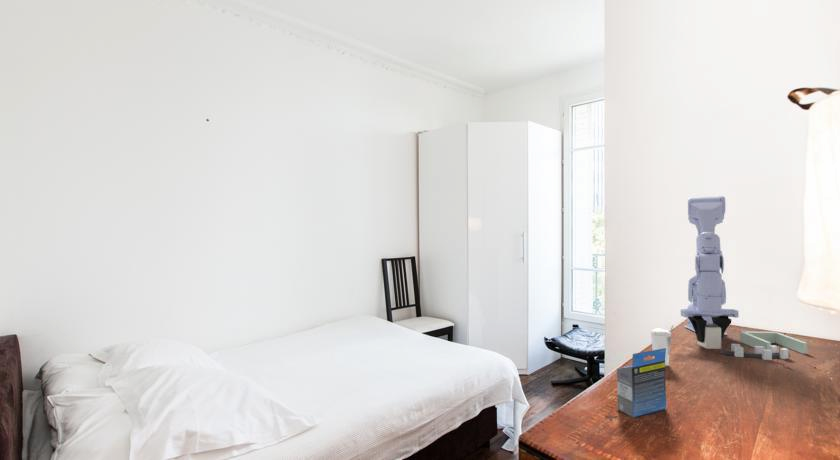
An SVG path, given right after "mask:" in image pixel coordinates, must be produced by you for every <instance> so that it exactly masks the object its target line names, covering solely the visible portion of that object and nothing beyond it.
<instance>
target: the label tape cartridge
mask: <svg viewBox="0 0 840 460" xmlns="http://www.w3.org/2000/svg"><path fill="white" fill-rule="evenodd" d="M665 355H666V348H663V349H658V350H652V349H651V350H647V351H642V352H635V353H632V361H631V362H632V365H629V366H624V367H619V368H617V369H616V374H617V375H616V379H617V381H616V383H617V395H616V398H617V410H618V411H620V413H623V414H625V415H626V416H628V417H631V418H636V417H640V416H645V415H647V414H652V413H656V412H659V411H664V410H667V386H666V385H667V384H666V383H667V382H666V366H665ZM649 356H650V357H653V356H654V357H655V358H654V359H653V358H651V359H646V358H649ZM644 359H646V360H644Z"/></svg>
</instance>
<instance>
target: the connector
mask: <svg viewBox="0 0 840 460" xmlns="http://www.w3.org/2000/svg"><path fill="white" fill-rule="evenodd" d="M697 345H698V346H699V347H700V346H701V347H702V348H705V349H709V350H710V349H711V350H712V349H713V350H716V349H717V350H722V341H721V328H720V327H718V325H716V324H713V323H706V326H705V340H704V343H702V342H700V341H698V340H697Z"/></svg>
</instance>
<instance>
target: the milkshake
mask: <svg viewBox="0 0 840 460" xmlns="http://www.w3.org/2000/svg"><path fill="white" fill-rule="evenodd" d="M673 328H674V325H671V327H670V329H669V330H668V329H667V330H666V329H663V328H660V327H658V328H657V327H656V328H653V329H652V330H651V331H650V338H651V339H650V340H651V346H652V348H651V351H652V350H658V349H663V348H666V355H665V367H668V366H669V365H670V353H671V344H672V343H671V342H672V333H671V332H672V330H673ZM654 358H655V357H654V356H652V359H654Z"/></svg>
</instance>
